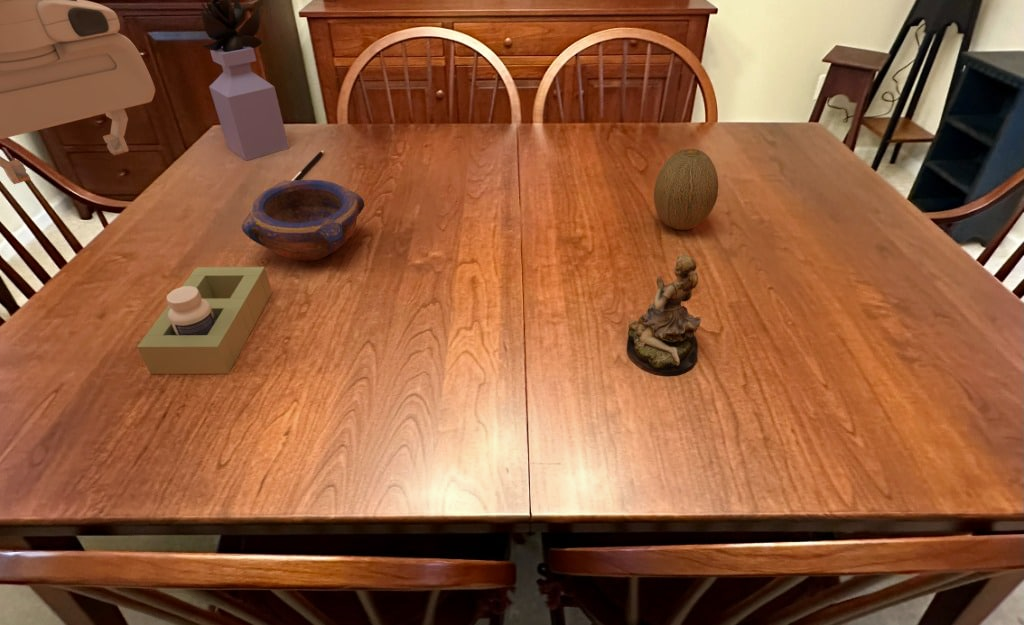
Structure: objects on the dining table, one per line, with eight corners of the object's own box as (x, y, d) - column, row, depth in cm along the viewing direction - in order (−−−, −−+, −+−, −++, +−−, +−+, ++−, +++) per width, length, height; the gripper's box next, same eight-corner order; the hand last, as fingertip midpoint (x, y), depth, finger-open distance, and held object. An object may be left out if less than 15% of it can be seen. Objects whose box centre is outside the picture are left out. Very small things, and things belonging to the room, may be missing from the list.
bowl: (339, 281, 101) (328, 229, 94) (241, 270, 103) (224, 218, 97) (379, 228, 114) (371, 180, 108) (292, 219, 117) (279, 171, 111)
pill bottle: (233, 344, 88) (212, 290, 82) (200, 366, 84) (176, 310, 78) (209, 332, 90) (188, 278, 84) (177, 352, 87) (152, 297, 81)
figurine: (649, 313, 93) (663, 228, 84) (714, 342, 88) (738, 255, 79) (607, 352, 86) (618, 264, 77) (676, 386, 81) (697, 296, 72)
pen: (288, 188, 128) (286, 183, 127) (322, 152, 143) (321, 147, 142) (292, 188, 128) (290, 183, 127) (325, 152, 143) (325, 147, 142)
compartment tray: (228, 374, 83) (217, 346, 80) (150, 374, 83) (136, 346, 80) (272, 292, 98) (264, 266, 95) (206, 292, 98) (196, 266, 95)
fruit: (718, 222, 116) (736, 147, 107) (695, 247, 109) (712, 169, 100) (663, 205, 121) (675, 133, 112) (638, 228, 114) (649, 153, 105)
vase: (278, 132, 153) (240, -24, 132) (300, 144, 147) (263, -18, 125) (223, 147, 146) (172, -16, 124) (243, 161, 139) (194, -8, 117)
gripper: (-140, 52, 47) (-40, 210, 55) (132, 9, 59) (180, 145, 67) (-153, 38, 50) (-56, 190, 59) (107, 0, 62) (156, 131, 71)
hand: (72, 165), depth 63 cm, fingers open, 8 cm apart
